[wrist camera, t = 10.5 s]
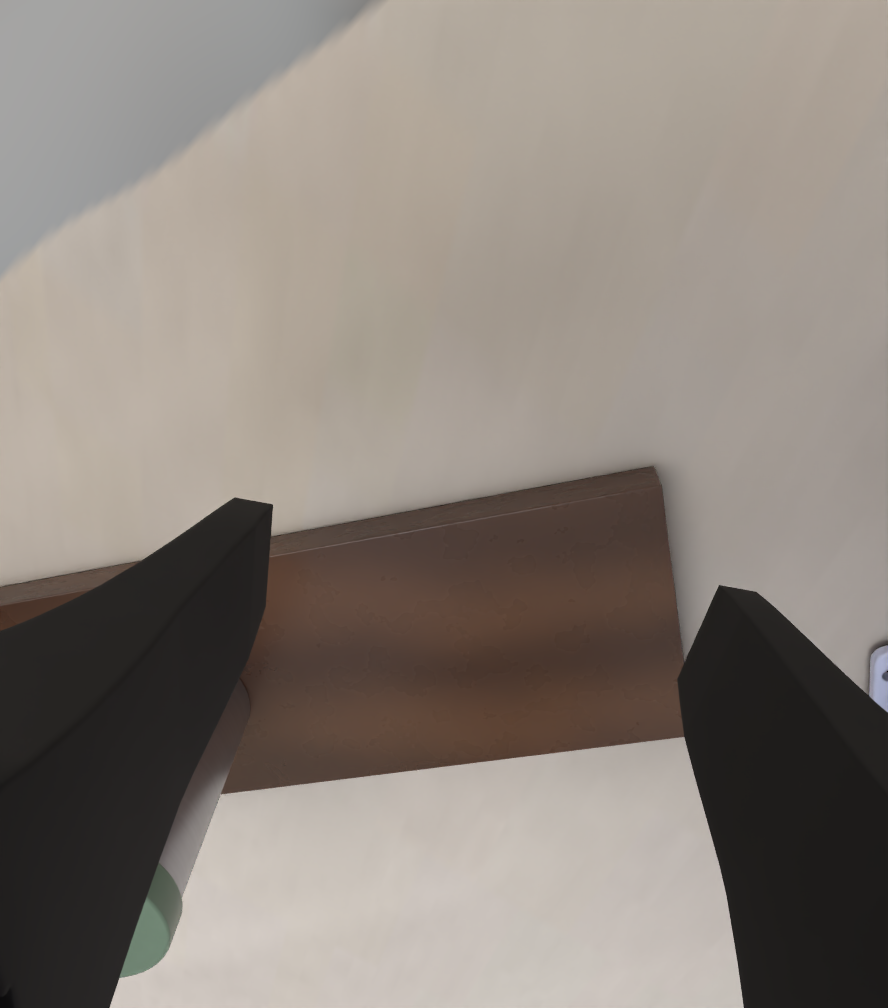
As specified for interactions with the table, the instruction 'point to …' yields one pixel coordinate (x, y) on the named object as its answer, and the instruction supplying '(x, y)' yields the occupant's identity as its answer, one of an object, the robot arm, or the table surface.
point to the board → (453, 634)
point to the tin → (186, 839)
